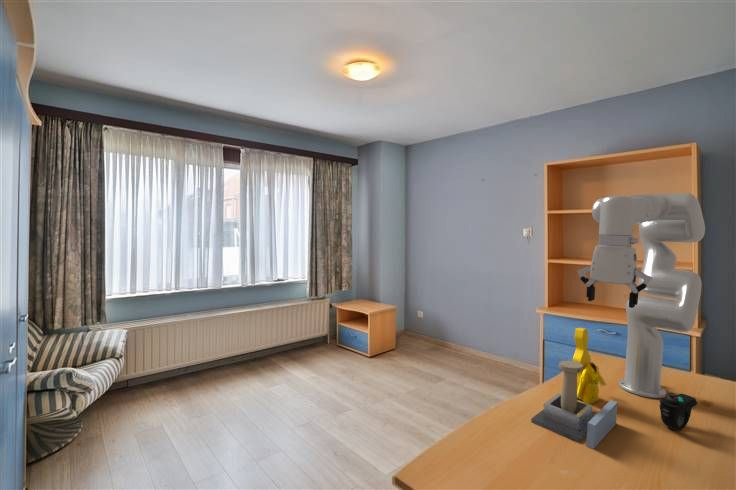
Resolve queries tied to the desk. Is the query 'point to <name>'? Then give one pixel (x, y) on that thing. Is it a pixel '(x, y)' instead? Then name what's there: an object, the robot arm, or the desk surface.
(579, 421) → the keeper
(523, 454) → the desk surface
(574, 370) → the handle
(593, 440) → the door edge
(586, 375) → the figure statuette
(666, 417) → the controller
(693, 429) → the desk surface
